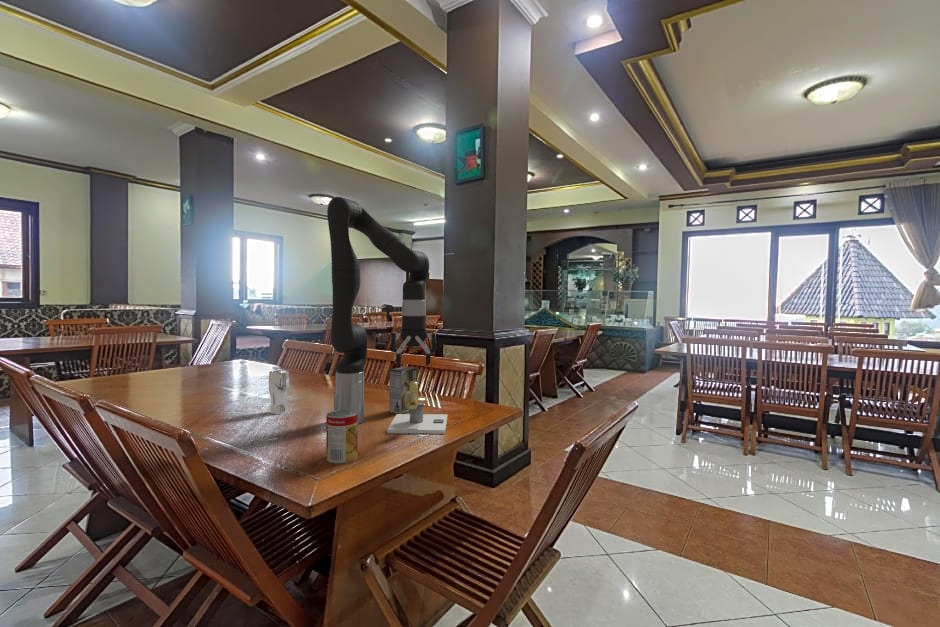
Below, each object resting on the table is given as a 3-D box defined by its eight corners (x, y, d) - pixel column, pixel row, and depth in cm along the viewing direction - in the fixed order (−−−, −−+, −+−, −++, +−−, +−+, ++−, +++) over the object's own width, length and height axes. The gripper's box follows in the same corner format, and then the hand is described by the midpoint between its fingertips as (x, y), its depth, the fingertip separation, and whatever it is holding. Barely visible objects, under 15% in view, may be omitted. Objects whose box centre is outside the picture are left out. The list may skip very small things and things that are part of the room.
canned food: (360, 452, 119) (360, 409, 118) (353, 463, 111) (353, 417, 110) (331, 452, 118) (331, 409, 118) (322, 463, 111) (322, 417, 110)
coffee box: (405, 407, 168) (405, 365, 168) (417, 409, 165) (418, 367, 164) (388, 412, 160) (388, 369, 160) (401, 414, 157) (401, 370, 156)
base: (387, 433, 136) (387, 410, 135) (396, 417, 154) (396, 397, 153) (444, 434, 136) (444, 411, 135) (447, 417, 154) (447, 397, 153)
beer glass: (284, 414, 155) (284, 373, 154) (265, 414, 155) (264, 373, 154) (292, 409, 162) (292, 370, 161) (274, 409, 162) (273, 369, 161)
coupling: (401, 409, 135) (401, 382, 135) (407, 399, 148) (407, 375, 148) (424, 409, 135) (424, 383, 135) (427, 400, 148) (428, 375, 148)
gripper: (388, 314, 132) (389, 367, 133) (435, 314, 132) (435, 367, 133) (393, 313, 139) (393, 363, 140) (437, 313, 140) (437, 363, 140)
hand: (413, 365), depth 136 cm, fingers open, 8 cm apart
